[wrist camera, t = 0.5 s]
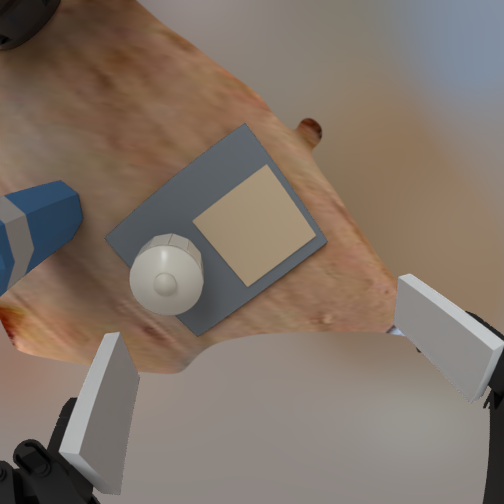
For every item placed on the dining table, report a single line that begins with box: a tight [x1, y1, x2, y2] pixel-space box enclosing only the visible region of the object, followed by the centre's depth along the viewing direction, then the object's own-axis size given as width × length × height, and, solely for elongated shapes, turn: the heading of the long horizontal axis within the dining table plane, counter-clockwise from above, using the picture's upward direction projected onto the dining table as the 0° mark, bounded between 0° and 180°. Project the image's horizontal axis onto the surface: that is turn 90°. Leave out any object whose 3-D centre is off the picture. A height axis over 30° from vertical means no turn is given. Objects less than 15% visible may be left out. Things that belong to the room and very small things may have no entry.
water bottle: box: [0, 180, 83, 296], centre depth 24 cm, size 9×9×25 cm
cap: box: [129, 233, 204, 316], centre depth 33 cm, size 8×8×6 cm
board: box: [104, 123, 328, 337], centre depth 36 cm, size 20×24×9 cm
